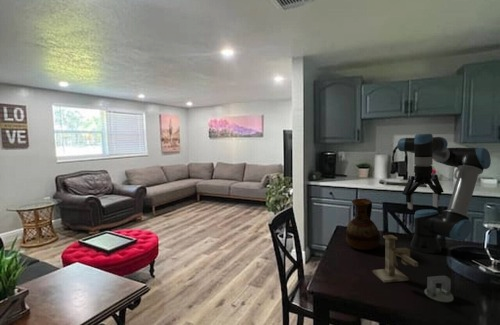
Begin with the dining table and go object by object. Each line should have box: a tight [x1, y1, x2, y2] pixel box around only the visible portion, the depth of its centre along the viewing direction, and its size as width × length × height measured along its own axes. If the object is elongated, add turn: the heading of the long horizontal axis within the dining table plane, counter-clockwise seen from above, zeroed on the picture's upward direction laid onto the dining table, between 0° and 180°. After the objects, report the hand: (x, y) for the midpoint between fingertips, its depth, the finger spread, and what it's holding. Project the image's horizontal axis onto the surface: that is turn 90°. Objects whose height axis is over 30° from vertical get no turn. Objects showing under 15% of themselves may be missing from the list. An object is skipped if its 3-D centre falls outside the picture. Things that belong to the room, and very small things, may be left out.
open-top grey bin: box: [426, 275, 452, 297], centre depth 114 cm, size 8×3×7 cm, turn 96°
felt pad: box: [424, 287, 454, 303], centre depth 114 cm, size 10×10×1 cm
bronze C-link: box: [389, 247, 411, 267], centre depth 123 cm, size 8×3×7 cm, turn 96°
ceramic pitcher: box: [345, 198, 381, 251], centre depth 167 cm, size 20×20×30 cm
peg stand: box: [372, 234, 419, 284], centre depth 124 cm, size 12×22×20 cm, turn 6°
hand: (422, 207), depth 135 cm, fingers open, 13 cm apart
